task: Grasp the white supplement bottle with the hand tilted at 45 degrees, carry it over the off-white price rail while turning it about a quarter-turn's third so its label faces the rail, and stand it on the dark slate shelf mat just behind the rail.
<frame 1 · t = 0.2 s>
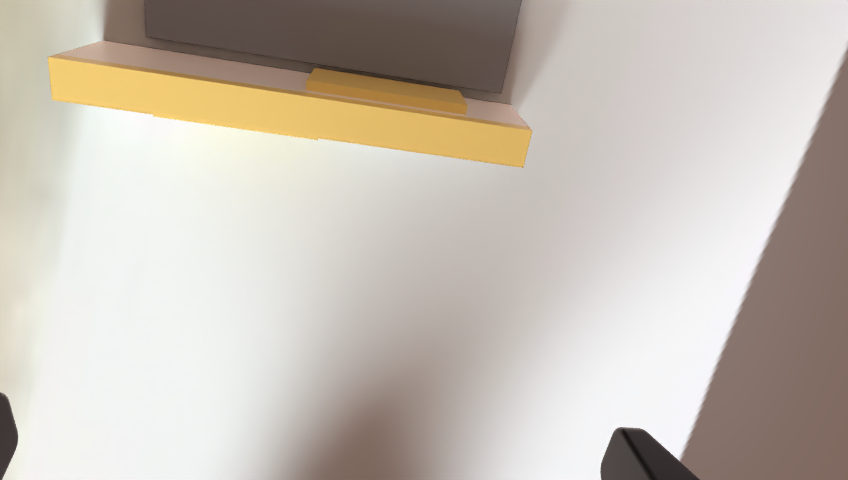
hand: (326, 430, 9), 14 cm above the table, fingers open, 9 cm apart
price rail: (313, 91, 21), on the table
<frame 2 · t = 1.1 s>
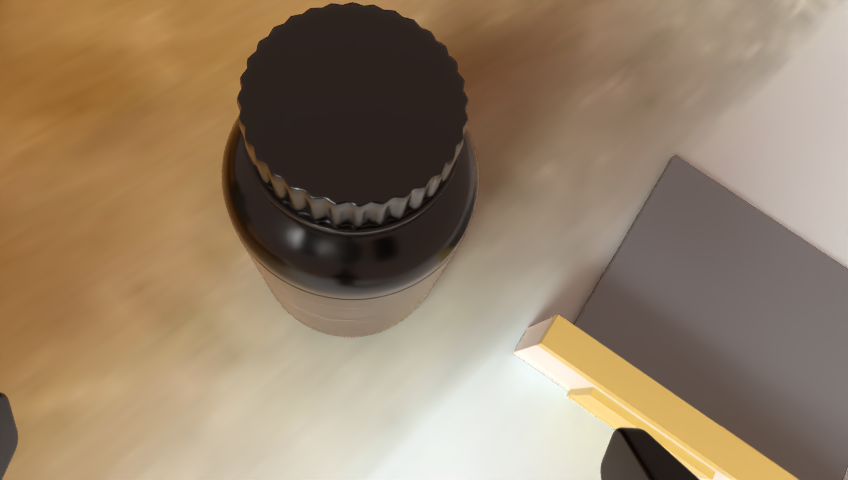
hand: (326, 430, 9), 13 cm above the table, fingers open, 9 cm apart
shelf mat: (741, 325, 25), on the table
supplement bottle: (351, 253, 24), on the table
price rail: (669, 443, 23), on the table
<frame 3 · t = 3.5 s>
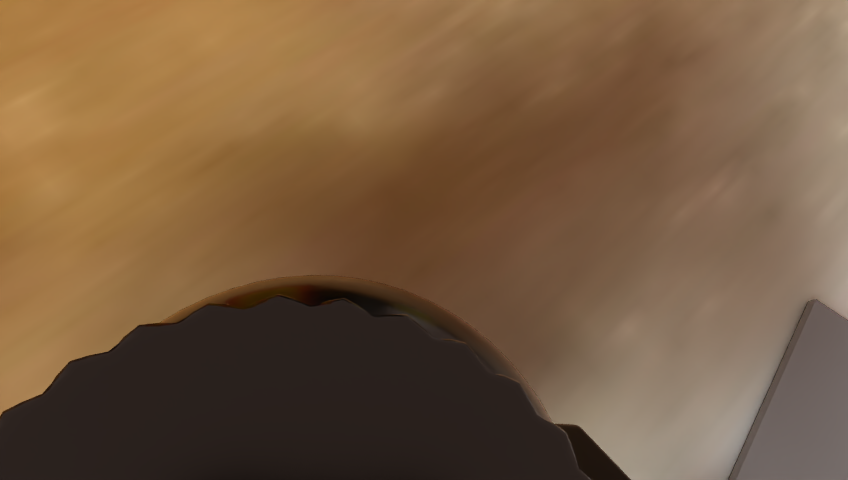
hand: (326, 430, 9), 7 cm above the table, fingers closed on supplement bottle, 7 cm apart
supplement bottle: (329, 478, 15), on the table, touching gripper
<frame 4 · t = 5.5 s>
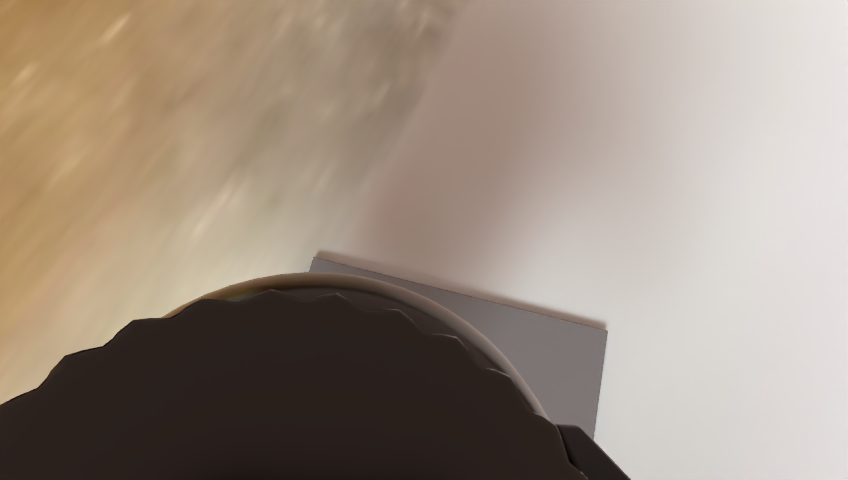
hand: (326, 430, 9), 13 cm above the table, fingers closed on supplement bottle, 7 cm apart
shelf mat: (434, 424, 22), on the table
supplement bottle: (330, 475, 15), point 6 cm above the table, touching gripper
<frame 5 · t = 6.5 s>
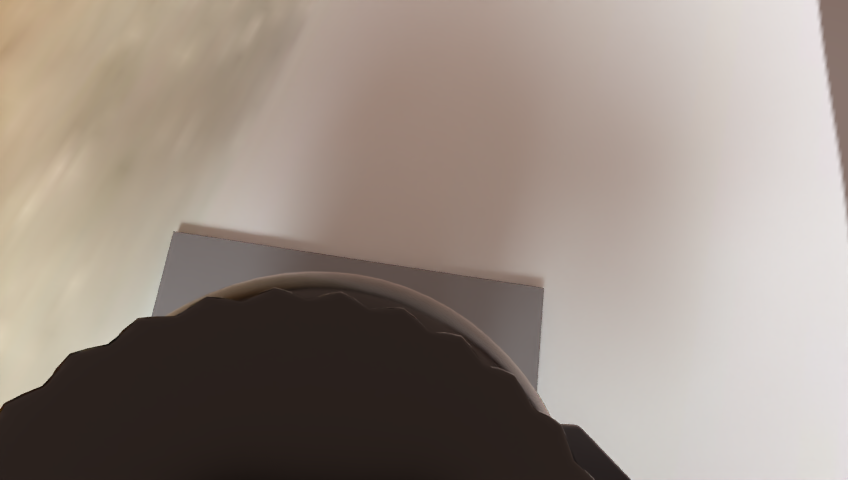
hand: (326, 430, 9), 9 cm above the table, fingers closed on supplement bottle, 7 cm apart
shelf mat: (338, 421, 18), on the table
supplement bottle: (332, 475, 15), point 3 cm above the table, touching gripper
when the fingers open (7 cm above the table, at t = 7.4 s): supplement bottle stays where it is, resting on shelf mat.
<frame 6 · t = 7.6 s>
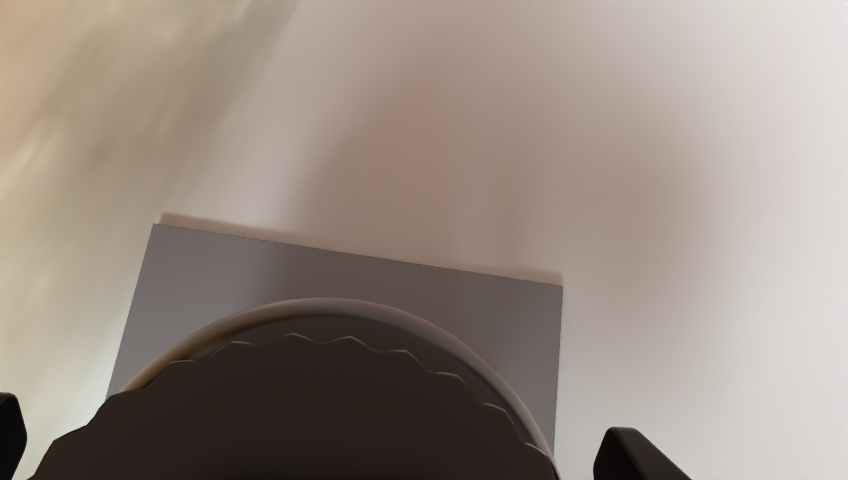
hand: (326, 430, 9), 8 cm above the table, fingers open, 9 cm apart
shelf mat: (335, 434, 16), on the table
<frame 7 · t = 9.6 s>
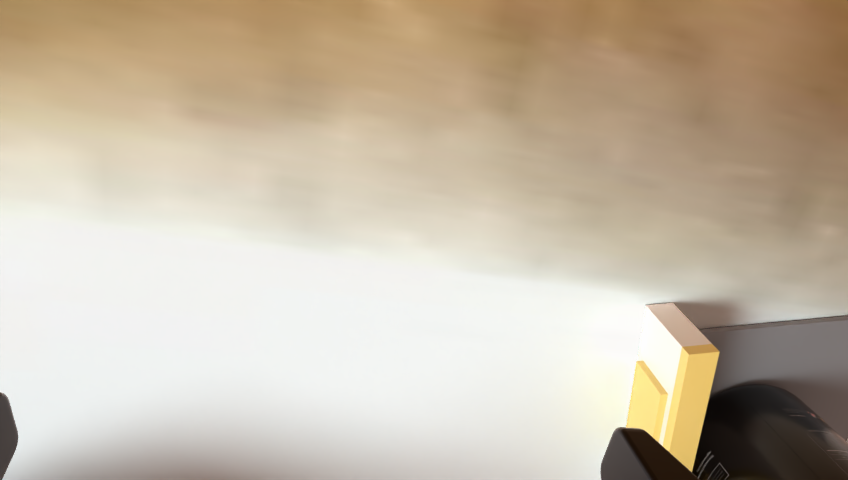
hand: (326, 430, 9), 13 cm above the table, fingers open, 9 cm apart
shelf mat: (754, 425, 29), on the table
supplement bottle: (732, 431, 28), resting on shelf mat
price rail: (637, 430, 28), on the table
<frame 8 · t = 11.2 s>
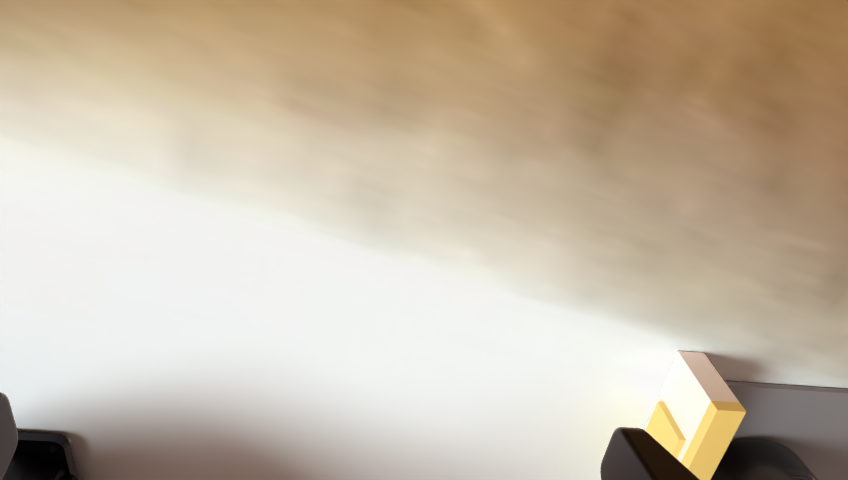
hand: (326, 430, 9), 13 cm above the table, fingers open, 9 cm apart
shelf mat: (751, 475, 30), on the table
supplement bottle: (729, 477, 30), resting on shelf mat
price rail: (642, 462, 29), on the table
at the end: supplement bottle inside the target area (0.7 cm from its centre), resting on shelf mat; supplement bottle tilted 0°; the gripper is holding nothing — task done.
